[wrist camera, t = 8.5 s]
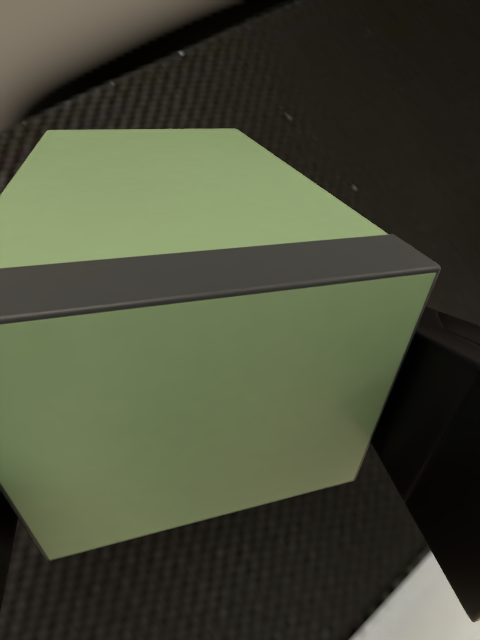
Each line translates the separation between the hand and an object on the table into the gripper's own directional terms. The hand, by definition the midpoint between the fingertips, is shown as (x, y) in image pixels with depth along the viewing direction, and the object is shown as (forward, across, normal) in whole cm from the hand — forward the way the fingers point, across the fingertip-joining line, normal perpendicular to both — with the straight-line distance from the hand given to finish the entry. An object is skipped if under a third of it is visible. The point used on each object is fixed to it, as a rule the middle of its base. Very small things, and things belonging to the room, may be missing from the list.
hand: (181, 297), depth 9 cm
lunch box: (+1, 0, 0) cm, 1 cm away
